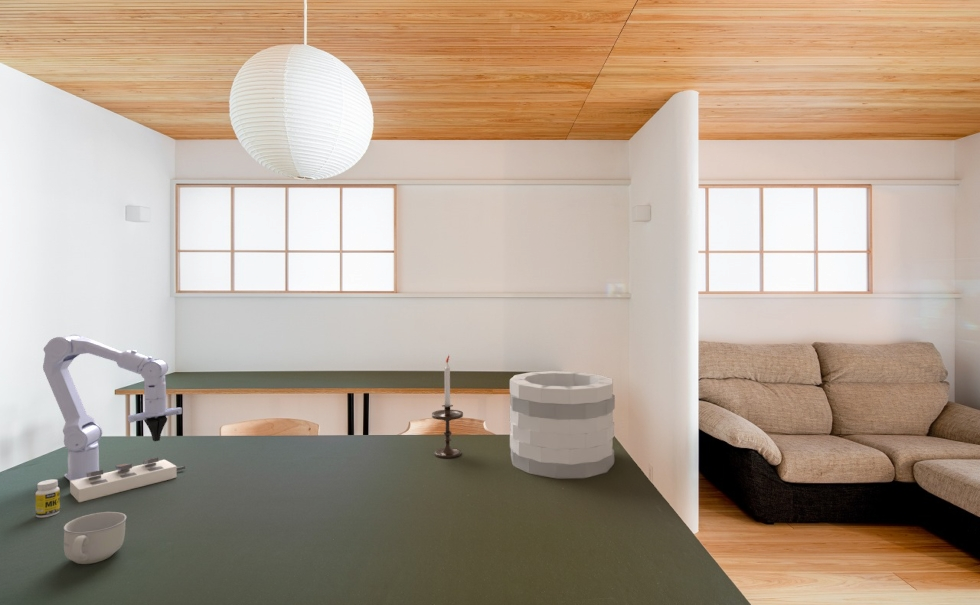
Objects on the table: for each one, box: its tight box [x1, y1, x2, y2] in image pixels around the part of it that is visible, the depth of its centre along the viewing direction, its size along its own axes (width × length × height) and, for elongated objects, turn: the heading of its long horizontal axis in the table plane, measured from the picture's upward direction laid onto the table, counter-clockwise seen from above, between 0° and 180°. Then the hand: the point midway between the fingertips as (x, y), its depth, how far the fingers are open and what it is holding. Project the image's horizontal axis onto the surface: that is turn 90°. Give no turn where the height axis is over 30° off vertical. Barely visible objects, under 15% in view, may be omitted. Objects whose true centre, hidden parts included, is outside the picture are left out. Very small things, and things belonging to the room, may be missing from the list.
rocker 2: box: [115, 463, 133, 471], centre depth 153 cm, size 5×3×1 cm, turn 50°
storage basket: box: [509, 370, 616, 479], centre depth 173 cm, size 35×35×27 cm
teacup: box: [63, 511, 127, 565], centre depth 110 cm, size 14×11×8 cm
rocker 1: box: [86, 469, 104, 477], centre depth 148 cm, size 5×3×1 cm, turn 50°
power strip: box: [69, 459, 186, 503], centre depth 154 cm, size 10×28×4 cm, turn 140°
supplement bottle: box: [35, 478, 61, 519], centre depth 133 cm, size 5×5×8 cm
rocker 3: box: [142, 457, 160, 465], centre depth 159 cm, size 5×3×1 cm, turn 50°
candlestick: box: [431, 355, 464, 459], centre depth 180 cm, size 11×11×35 cm
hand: (156, 440), depth 164 cm, fingers closed
